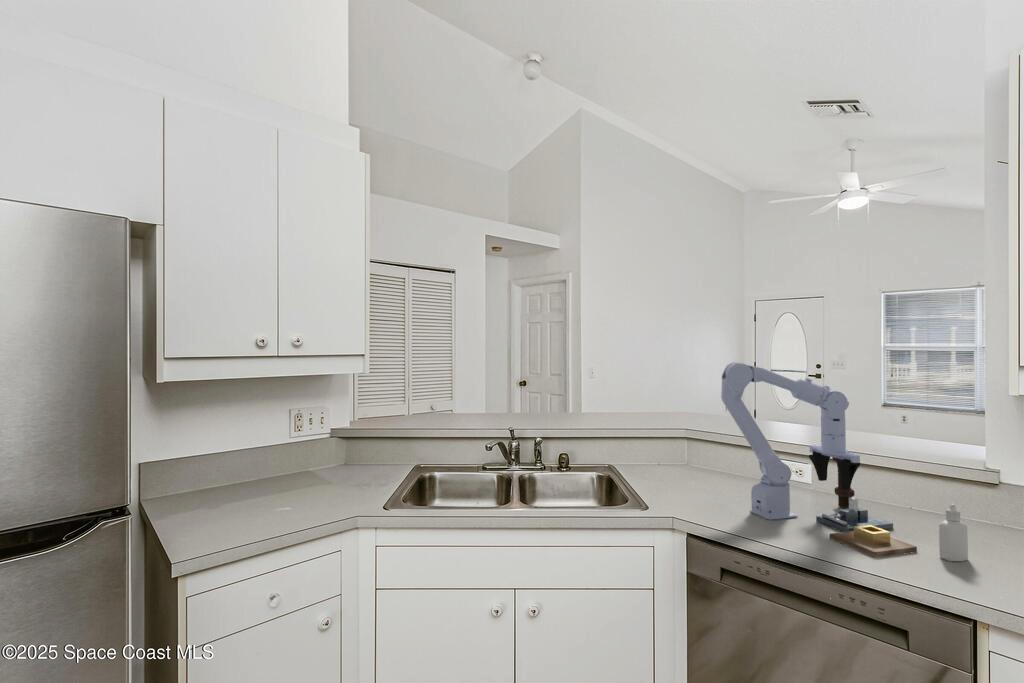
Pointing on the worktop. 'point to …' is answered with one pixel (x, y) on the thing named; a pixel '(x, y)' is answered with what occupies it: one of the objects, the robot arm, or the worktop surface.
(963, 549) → the eye dropper bottle
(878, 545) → the board
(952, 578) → the worktop surface
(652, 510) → the worktop surface
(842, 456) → the robot arm
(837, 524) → the vise
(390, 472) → the worktop surface
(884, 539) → the collar
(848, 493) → the bolt
